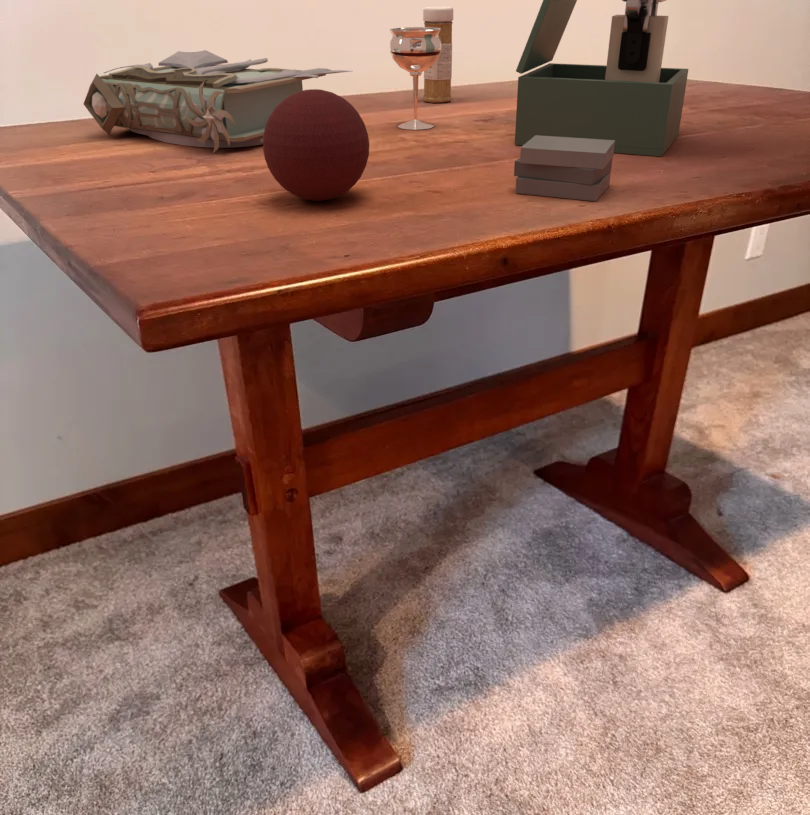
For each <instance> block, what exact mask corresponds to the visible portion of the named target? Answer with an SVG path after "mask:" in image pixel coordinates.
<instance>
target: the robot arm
mask: <svg viewBox="0 0 810 815" xmlns="http://www.w3.org/2000/svg"><path fill="white" fill-rule="evenodd" d="M621 1H622V2H623V3H625V9H624V15H625V16H624V24H623V32H622V36H621V44H620V53H619V61H618V69H620V70H633V71H644V70H645V69H646V67H647V59H648V52H649V44H650V37H651V33H648V31H649V25H650V18H651V15H653V16H658V9H659V4H660V3H664V2H665V1H667V0H621Z"/></svg>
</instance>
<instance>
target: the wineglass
mask: <svg viewBox="0 0 810 815" xmlns="http://www.w3.org/2000/svg"><path fill="white" fill-rule="evenodd" d="M440 30H441V29H440V28H432V27H425V26H413V27H412V26H405V27H395V28H390V29H389V32H390V34H391V40H390V42H389V52H390V57H391V58H392V60H393V61H394V62H395V64H396V65H397V66H398V67H399V68H400V69H403V70H404V71H406V72H408V73H409V76H410V77H412V91H413V93H412V94H413V115H414V119H412V120H409V121H406V122H403V123H401V124H398V125H397V127H398V128H399V129H403V130H414V131H415V130H429V129H431V128H433V127H435V125H434V124H432V123H430V122H427V121H423V120H420V119H418V111H419V110H418V106H419V81H420V80H419V77H421V76H422V74H423V73H424V71H425V70H426V69H428V68H430V67H431V66H432V65H433V64H434V63H435V61H436V60H437V59H438V58H439V55H440V52H441V41H440V39H439V37H438V34H439V32H440Z"/></svg>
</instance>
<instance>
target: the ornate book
mask: <svg viewBox="0 0 810 815" xmlns="http://www.w3.org/2000/svg"><path fill="white" fill-rule="evenodd" d="M268 62H269V61H268V58H267V57H264V58H259V59H253V60H251V58H250V59H247V60H246V61H240V62H233V63H229V61H228V59H226V58H224V57H221V56H219V55H218V54H215V53H213V52H210V51H208V50H207V49H204V50H199V51H179V50H178V51H176V52H175V53H173V54H171V55H170V56H168V57H166V58H164V59H163V60H161V61H159V62H158V67H154V66H153V64H152V63H151V62H148V63H144V64H132V65H126V66H121V67H115V68H112V69H110V70H107V71H105V72H103V75H99V73H96V74H95V75H94V77H93V79H92V81H91V83H90V85H89V87H88V91H87V93H86V96H85V98H84V101H83V106H84V107H85V108H86V110H87V111H88V113H89V114H90V115H91V116H92V118H93V119H94V120H95V122H96V123H97V124H98V125H99V127H100V128H101V129H102V130H103V131H104V132H105V133H106V134H107V135H109V134H111V132H112V130H113V128H114V127H116V128H117V127H119V128H125V129H129V131H131V132H132V133H136V134H139V135H140V134H141V135H144V136H147V137H149V138H151V139H153V140H156V141H160V142H163V143H166V144H167V143H168V144H173V145H179V146H186V147H198V148H199V147H200V148H213V151H212V154H214V153H216V152H217V151H218V149H219V148H222V149H223V148H224V149H225V148H227V149H230V148H243V147H253V146H261V145H262V146H263V136H264V130H265V126H266V123H267V121H268V119H269V116H270V115H271V113H272V112H273V110H274V109H275V107H277V106H278V105H279V104H280V103H281V102H282V101H283V100H284V99H285V98H287V97H289V96H290V95H292V94H294V93H297V92H300V91H303V90H304V87H303V81H305V80H311V79H318V78H320V77H325V76H327V75H330V74H340V73H351V72H352V70H342V69H341V70H340V69H339V70H338V69H335V70H333V69H330V68H325V67H321V68H320V67H317V68H311V69H310V68H309V69H304V70H303V69H290V68H289V69H288V68H280V67H279V68H278V67H263V68H249V67H251V66H258V65H262V64H266V63H268ZM124 68H125V69H124ZM119 69H120V70H119ZM116 70H117V71H116ZM113 71H114V72H113ZM107 73H108V74H107Z"/></svg>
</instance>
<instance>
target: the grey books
mask: <svg viewBox="0 0 810 815" xmlns="http://www.w3.org/2000/svg"><path fill="white" fill-rule="evenodd" d="M614 146H615V140H603V139H587V138H571V137H555V136H539V135H535V136H534V137H533V138H532V139H530V140H529V141H528V142H527V143H526V144H524V145H523V146H520V154H519V158H517V159H516V160H514V167H513V176H514V177H515V194H519V195H528V196H529V195H530V196H538V197H549V198H559V199H566V200H567V199H569V200H578V201H589V202H598V200H599V198H601V197H602V195H603V194H604V193H605V192H606V191H607V190H608V188H609V187H610V182H611V174H612V167H613V166H612V165H613V158H614V154H615V153H614Z"/></svg>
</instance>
